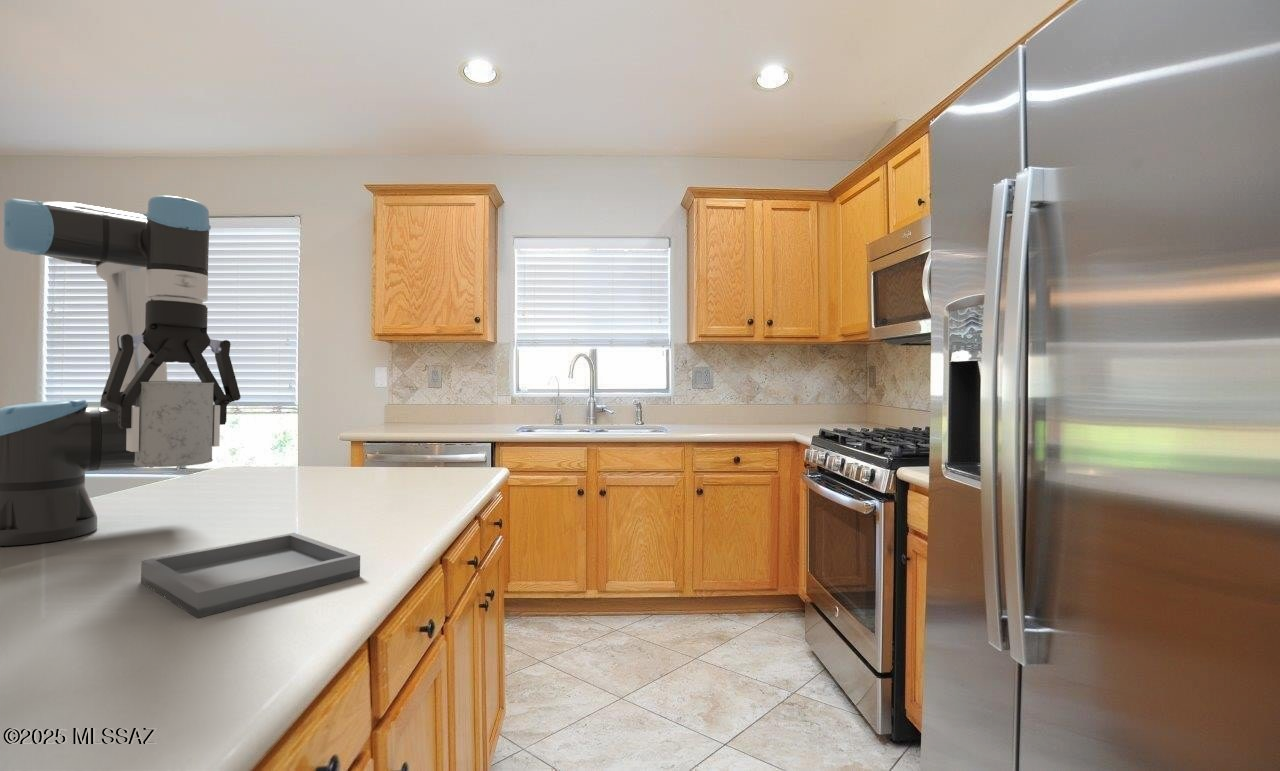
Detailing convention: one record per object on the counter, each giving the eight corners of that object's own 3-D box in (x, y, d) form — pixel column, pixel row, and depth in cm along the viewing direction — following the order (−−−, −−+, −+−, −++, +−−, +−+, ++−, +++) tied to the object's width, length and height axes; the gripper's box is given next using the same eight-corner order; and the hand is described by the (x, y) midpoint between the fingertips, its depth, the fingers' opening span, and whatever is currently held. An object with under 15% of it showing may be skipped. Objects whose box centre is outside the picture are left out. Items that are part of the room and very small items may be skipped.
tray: (140, 582, 83) (141, 560, 83) (293, 550, 99) (294, 532, 99) (197, 618, 71) (197, 592, 71) (359, 576, 88) (360, 555, 88)
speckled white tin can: (227, 459, 97) (229, 382, 97) (176, 468, 87) (177, 383, 87) (172, 457, 98) (174, 381, 98) (116, 465, 88) (117, 381, 88)
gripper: (88, 290, 81) (85, 457, 81) (267, 308, 99) (264, 445, 99) (73, 293, 86) (70, 451, 86) (247, 310, 104) (244, 441, 104)
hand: (174, 448), depth 93 cm, fingers closed on speckled white tin can, 9 cm apart
